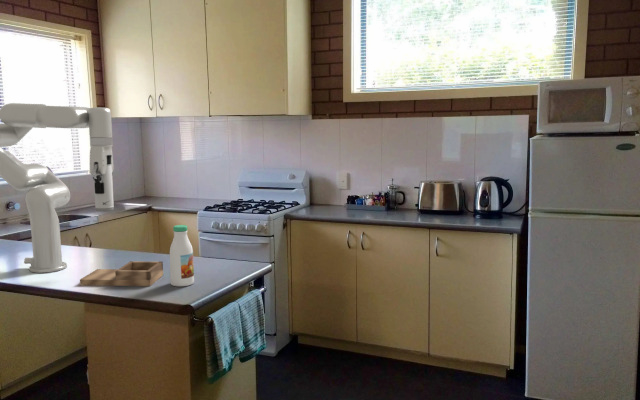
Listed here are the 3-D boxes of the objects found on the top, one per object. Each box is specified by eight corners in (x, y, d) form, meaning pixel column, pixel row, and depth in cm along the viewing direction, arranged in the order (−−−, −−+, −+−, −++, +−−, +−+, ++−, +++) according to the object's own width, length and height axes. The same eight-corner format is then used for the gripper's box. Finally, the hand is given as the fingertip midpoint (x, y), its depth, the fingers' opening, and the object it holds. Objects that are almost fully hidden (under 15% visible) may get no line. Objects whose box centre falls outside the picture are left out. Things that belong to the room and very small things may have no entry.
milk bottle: (172, 288, 180) (170, 228, 177) (169, 282, 187) (166, 224, 184) (196, 285, 183) (194, 226, 180) (191, 279, 190) (189, 223, 187)
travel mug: (108, 211, 195) (105, 155, 192) (91, 211, 196) (88, 155, 193) (118, 209, 201) (115, 154, 198) (102, 208, 202) (99, 154, 199)
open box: (80, 285, 184) (79, 270, 183) (97, 274, 197) (96, 261, 196) (150, 286, 183) (149, 271, 182) (163, 275, 196) (162, 261, 195)
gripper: (101, 141, 203) (104, 189, 206) (79, 143, 186) (82, 195, 189) (121, 141, 203) (123, 189, 206) (100, 143, 186) (103, 195, 189)
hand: (104, 191), depth 197 cm, fingers closed on travel mug, 6 cm apart
